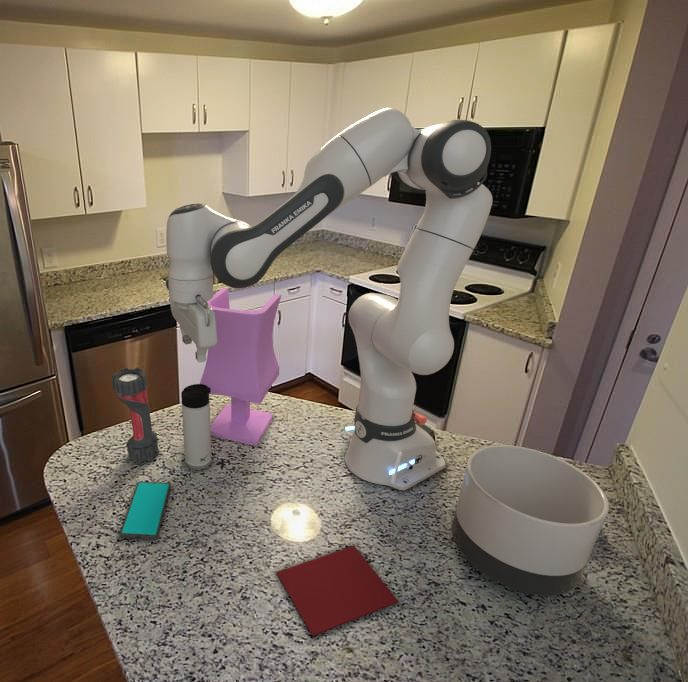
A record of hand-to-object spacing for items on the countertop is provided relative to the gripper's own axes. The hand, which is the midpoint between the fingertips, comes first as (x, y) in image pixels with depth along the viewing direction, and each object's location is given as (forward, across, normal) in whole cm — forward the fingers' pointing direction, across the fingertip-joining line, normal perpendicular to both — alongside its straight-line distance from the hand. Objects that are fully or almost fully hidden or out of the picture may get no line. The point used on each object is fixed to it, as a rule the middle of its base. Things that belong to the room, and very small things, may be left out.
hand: (193, 351), depth 98 cm
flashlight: (+29, +7, +13) cm, 33 cm away
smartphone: (+29, -11, +15) cm, 34 cm away
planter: (+29, -46, -43) cm, 69 cm away
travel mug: (+29, 0, 0) cm, 29 cm away
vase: (+29, +10, -15) cm, 34 cm away
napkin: (+29, -40, -11) cm, 51 cm away
